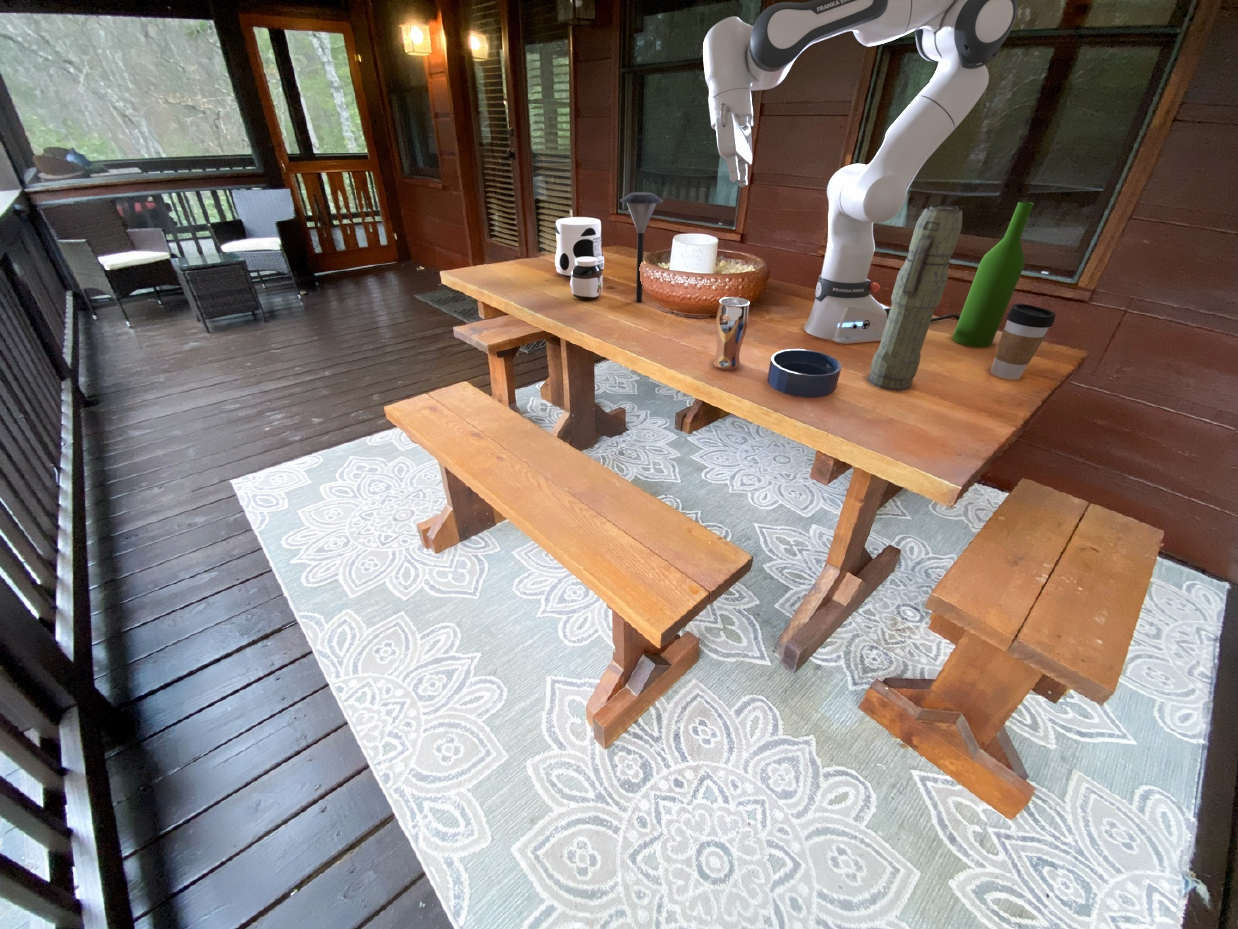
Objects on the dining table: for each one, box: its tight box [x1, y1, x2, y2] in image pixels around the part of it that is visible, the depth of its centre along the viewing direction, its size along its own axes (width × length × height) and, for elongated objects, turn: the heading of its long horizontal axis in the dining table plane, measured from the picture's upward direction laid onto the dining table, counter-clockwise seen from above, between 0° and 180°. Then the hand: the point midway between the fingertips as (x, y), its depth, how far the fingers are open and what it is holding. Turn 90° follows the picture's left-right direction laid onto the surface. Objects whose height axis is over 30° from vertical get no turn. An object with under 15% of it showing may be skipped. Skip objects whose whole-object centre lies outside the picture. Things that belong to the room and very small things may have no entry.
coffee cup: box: [989, 303, 1056, 381], centre depth 116 cm, size 8×8×15 cm
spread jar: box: [569, 257, 604, 302], centre depth 166 cm, size 12×11×12 cm
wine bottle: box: [952, 201, 1035, 348], centre depth 128 cm, size 9×9×32 cm
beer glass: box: [712, 296, 750, 372], centre depth 119 cm, size 7×7×15 cm
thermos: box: [867, 204, 963, 392], centre depth 107 cm, size 9×12×35 cm
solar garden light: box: [619, 191, 664, 303], centre depth 156 cm, size 12×12×30 cm
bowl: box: [766, 348, 842, 399], centre depth 113 cm, size 14×14×6 cm
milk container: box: [554, 216, 605, 279], centre depth 184 cm, size 17×17×18 cm
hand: (739, 183), depth 117 cm, fingers open, 8 cm apart
